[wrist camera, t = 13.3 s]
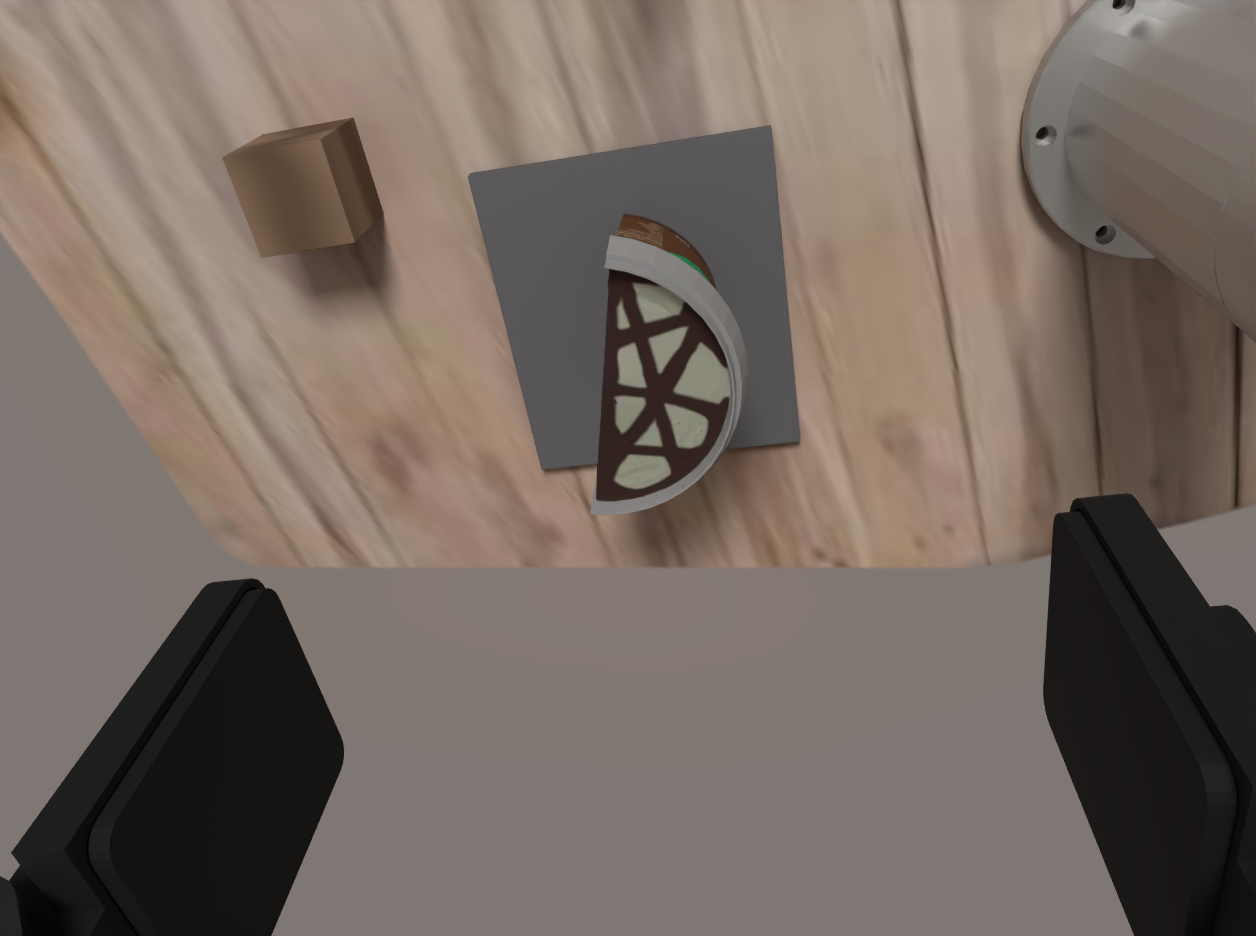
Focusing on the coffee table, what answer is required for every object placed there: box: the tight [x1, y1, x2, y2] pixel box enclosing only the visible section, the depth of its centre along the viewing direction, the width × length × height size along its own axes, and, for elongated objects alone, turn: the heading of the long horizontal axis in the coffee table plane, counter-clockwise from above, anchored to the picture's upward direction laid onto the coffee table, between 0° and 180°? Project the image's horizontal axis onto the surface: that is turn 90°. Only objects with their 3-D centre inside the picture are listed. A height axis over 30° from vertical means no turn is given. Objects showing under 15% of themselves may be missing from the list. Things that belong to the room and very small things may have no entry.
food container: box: [590, 214, 748, 515], centre depth 43 cm, size 12×6×10 cm, turn 176°
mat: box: [468, 125, 800, 470], centre depth 48 cm, size 14×16×1 cm
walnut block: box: [223, 118, 383, 258], centre depth 44 cm, size 4×4×4 cm
